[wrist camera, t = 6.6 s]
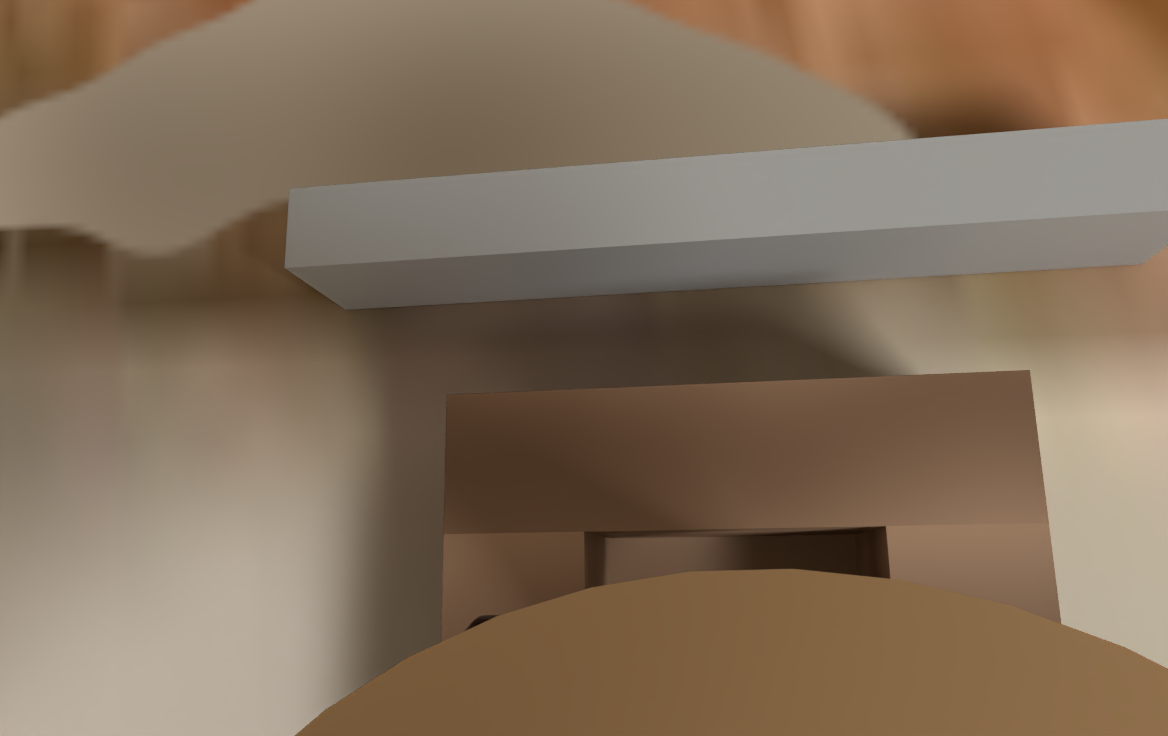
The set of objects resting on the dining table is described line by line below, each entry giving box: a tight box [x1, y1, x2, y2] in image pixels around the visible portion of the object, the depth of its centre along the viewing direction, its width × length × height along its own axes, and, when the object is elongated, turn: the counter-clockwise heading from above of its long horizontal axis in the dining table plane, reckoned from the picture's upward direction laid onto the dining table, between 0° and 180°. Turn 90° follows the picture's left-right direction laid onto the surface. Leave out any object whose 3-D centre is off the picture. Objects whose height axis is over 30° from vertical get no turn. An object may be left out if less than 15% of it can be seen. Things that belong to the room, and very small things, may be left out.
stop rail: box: [284, 119, 1168, 310], centre depth 21 cm, size 2×20×4 cm, turn 91°
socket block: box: [441, 370, 1061, 642], centre depth 18 cm, size 11×11×5 cm
